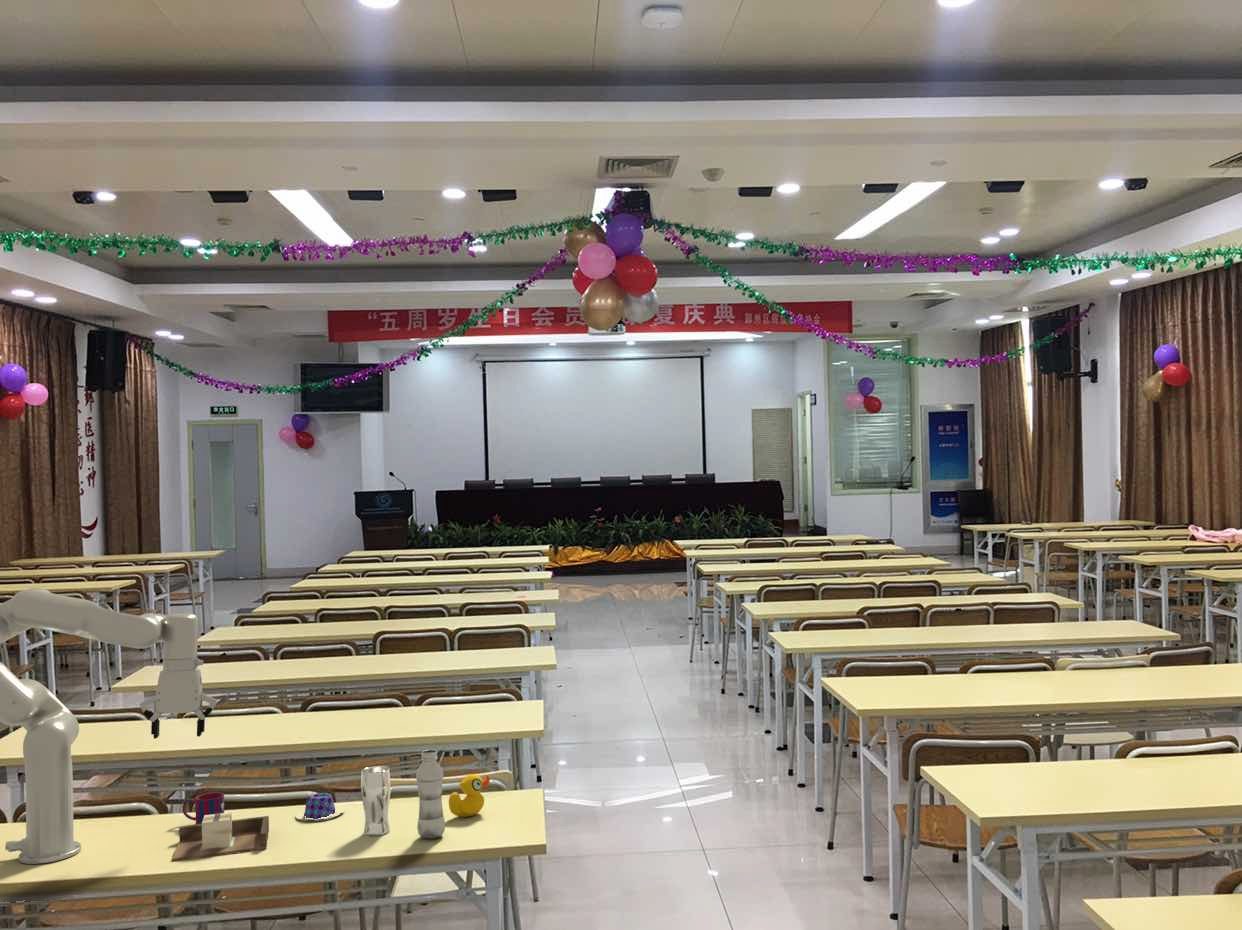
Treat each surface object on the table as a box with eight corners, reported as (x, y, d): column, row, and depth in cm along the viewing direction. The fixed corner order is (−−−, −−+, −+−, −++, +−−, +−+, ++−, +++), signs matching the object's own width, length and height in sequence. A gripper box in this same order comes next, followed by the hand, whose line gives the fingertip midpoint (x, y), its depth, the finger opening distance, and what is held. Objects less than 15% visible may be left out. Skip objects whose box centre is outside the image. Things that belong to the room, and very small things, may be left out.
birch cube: (204, 841, 234) (204, 814, 234) (232, 837, 236) (231, 811, 236) (202, 849, 228) (201, 822, 229) (230, 845, 230) (229, 819, 230)
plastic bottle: (450, 833, 236) (448, 748, 237) (437, 843, 230) (435, 755, 230) (425, 831, 238) (423, 747, 239) (412, 841, 231) (410, 754, 232)
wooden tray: (172, 861, 223) (172, 845, 223) (180, 841, 237) (179, 826, 237) (266, 849, 229) (266, 833, 229) (268, 830, 243) (268, 815, 243)
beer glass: (381, 838, 234) (379, 774, 235) (356, 835, 236) (354, 772, 237) (397, 828, 241) (395, 766, 241) (372, 826, 243) (371, 764, 244)
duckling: (485, 808, 255) (484, 768, 255) (495, 813, 251) (494, 773, 251) (445, 817, 248) (444, 777, 249) (455, 822, 244) (453, 781, 244)
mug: (216, 827, 246) (216, 799, 247) (177, 828, 247) (177, 800, 247) (229, 819, 253) (228, 792, 253) (191, 819, 254) (191, 792, 254)
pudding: (353, 810, 258) (353, 790, 258) (327, 825, 246) (326, 803, 247) (313, 807, 261) (313, 787, 261) (285, 822, 250) (285, 801, 250)
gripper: (220, 661, 247) (218, 731, 246) (144, 664, 242) (142, 735, 241) (215, 666, 239) (214, 738, 239) (137, 668, 235) (135, 741, 234)
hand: (177, 736), depth 240 cm, fingers open, 9 cm apart
